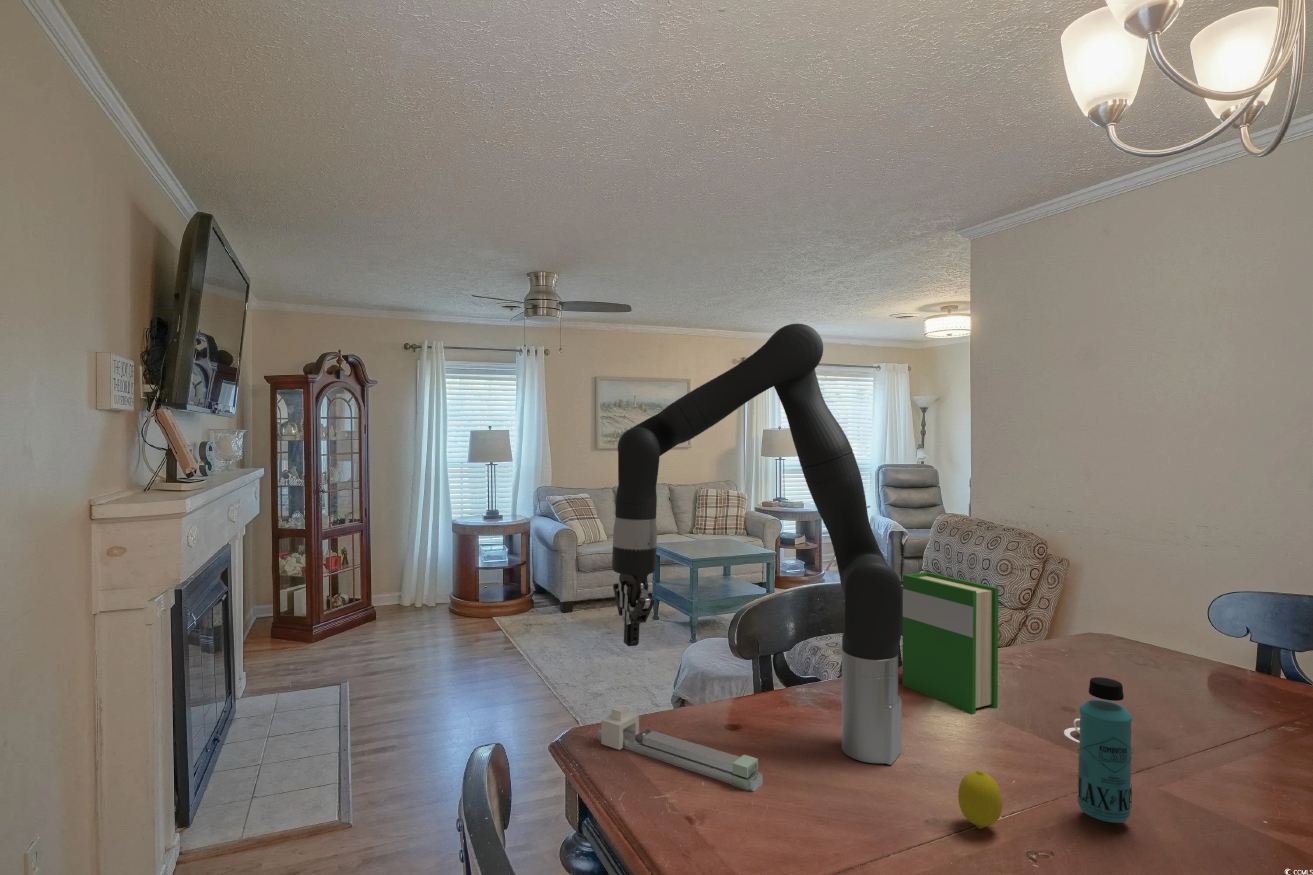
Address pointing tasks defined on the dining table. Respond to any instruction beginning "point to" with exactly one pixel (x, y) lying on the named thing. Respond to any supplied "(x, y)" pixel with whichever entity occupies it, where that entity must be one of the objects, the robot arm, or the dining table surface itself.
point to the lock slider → (618, 726)
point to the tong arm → (702, 754)
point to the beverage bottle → (1105, 753)
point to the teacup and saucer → (1067, 731)
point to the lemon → (980, 799)
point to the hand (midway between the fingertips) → (631, 644)
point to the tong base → (688, 762)
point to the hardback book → (950, 640)
